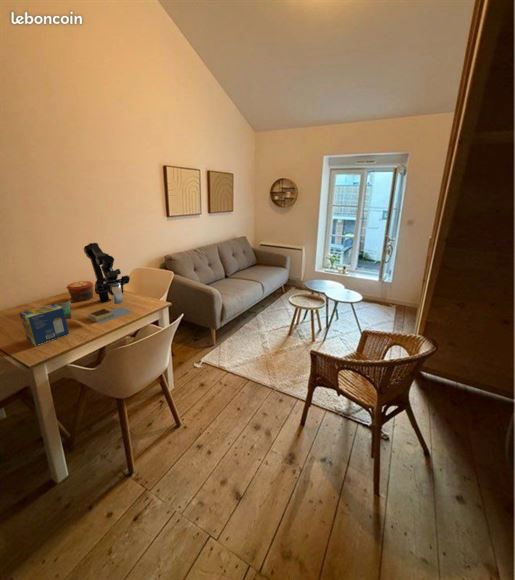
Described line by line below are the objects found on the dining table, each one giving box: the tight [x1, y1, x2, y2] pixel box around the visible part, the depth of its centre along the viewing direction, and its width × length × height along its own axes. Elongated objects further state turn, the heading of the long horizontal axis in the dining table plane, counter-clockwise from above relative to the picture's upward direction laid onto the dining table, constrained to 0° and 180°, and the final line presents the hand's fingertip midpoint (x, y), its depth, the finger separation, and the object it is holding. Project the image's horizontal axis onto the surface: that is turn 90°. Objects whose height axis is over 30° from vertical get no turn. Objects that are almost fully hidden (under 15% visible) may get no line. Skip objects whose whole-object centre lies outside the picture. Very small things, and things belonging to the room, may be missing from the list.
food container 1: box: [54, 300, 72, 320], centre depth 167 cm, size 12×6×10 cm, turn 143°
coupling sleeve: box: [110, 282, 125, 305], centre depth 171 cm, size 6×6×12 cm
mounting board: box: [86, 306, 134, 325], centre depth 171 cm, size 14×21×1 cm, turn 146°
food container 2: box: [65, 280, 94, 302], centre depth 201 cm, size 16×16×11 cm
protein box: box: [18, 303, 70, 346], centre depth 144 cm, size 10×15×16 cm
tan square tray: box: [87, 308, 113, 323], centre depth 167 cm, size 10×10×3 cm
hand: (117, 294), depth 170 cm, fingers closed on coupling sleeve, 6 cm apart
